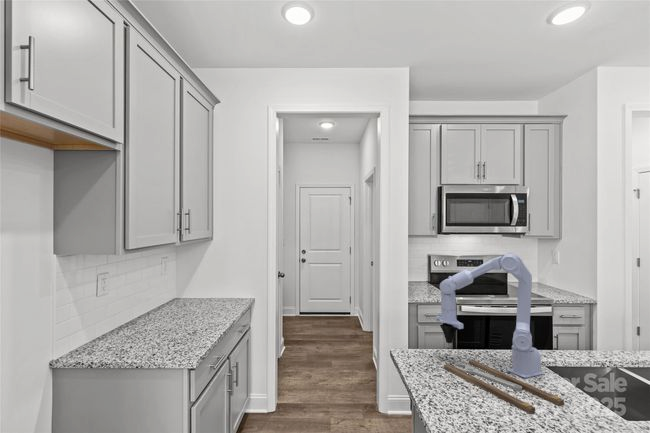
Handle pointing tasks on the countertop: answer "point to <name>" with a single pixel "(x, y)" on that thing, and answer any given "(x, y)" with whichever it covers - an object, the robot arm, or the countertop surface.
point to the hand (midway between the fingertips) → (449, 342)
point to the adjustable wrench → (488, 377)
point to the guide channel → (501, 394)
